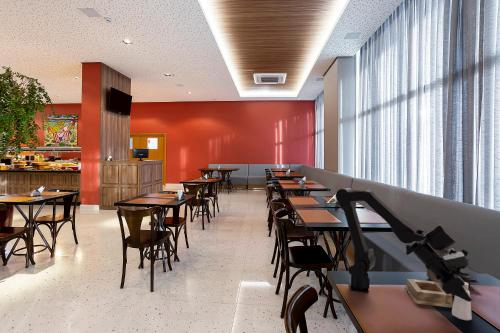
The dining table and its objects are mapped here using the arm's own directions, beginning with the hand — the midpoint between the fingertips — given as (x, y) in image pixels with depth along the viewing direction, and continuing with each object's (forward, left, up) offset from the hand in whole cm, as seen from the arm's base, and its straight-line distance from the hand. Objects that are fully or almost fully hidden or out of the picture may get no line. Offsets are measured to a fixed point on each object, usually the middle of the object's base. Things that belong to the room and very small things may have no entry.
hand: (467, 297), depth 92 cm
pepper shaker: (-1, 0, -7) cm, 7 cm away
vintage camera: (+7, +26, -7) cm, 28 cm away
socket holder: (-7, +11, -7) cm, 15 cm away
